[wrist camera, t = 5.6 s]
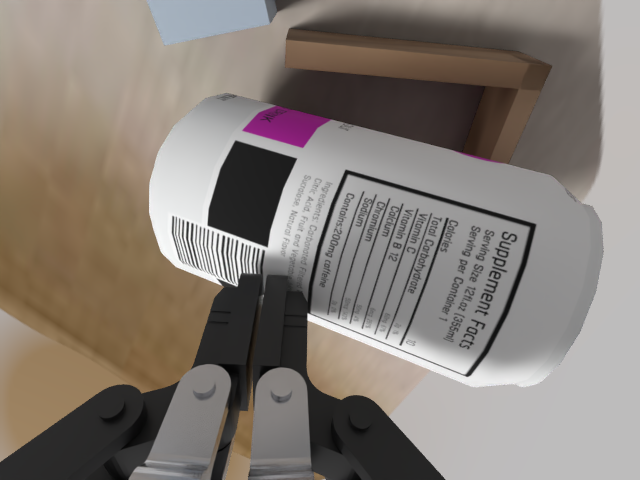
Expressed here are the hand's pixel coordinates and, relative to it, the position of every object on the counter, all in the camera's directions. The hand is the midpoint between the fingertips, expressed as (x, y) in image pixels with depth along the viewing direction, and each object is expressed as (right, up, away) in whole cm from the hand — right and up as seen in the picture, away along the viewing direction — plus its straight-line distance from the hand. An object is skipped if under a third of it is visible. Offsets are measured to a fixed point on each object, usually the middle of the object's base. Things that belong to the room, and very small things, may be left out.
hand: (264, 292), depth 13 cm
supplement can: (-4, +5, +4) cm, 7 cm away
